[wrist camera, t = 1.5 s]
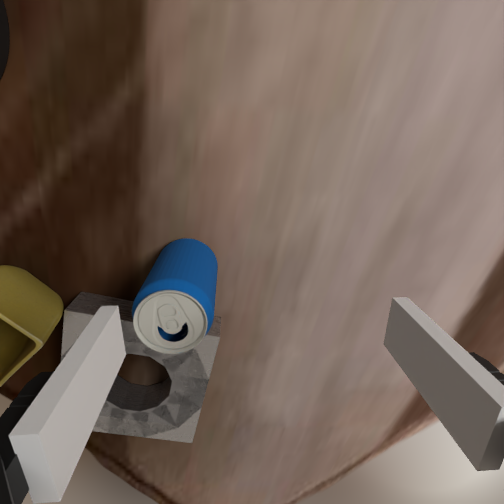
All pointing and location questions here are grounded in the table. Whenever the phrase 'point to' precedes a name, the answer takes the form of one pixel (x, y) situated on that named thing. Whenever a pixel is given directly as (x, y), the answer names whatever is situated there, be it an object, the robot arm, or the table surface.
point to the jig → (154, 396)
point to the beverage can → (177, 298)
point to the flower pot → (24, 317)
